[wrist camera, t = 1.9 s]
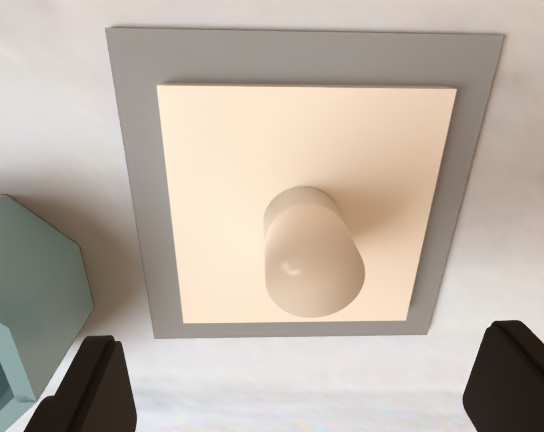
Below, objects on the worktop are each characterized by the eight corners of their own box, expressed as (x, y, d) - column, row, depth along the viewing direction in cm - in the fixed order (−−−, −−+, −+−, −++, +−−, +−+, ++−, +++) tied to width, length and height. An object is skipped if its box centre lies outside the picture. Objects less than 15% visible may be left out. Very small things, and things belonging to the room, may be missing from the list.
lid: (445, 86, 16) (531, 108, 11) (399, 308, 21) (443, 391, 16) (162, 82, 15) (117, 103, 10) (186, 310, 21) (164, 397, 16)
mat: (498, 35, 15) (504, 34, 15) (424, 329, 22) (427, 334, 22) (108, 27, 15) (104, 27, 14) (156, 333, 22) (154, 338, 21)
